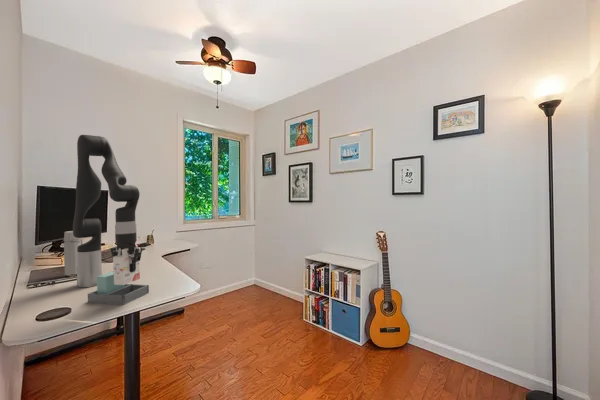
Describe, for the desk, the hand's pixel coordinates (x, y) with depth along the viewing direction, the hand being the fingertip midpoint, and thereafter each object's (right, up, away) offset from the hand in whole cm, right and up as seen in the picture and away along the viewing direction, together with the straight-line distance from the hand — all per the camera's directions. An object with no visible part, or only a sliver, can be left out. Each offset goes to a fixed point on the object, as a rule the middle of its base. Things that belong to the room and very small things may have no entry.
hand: (127, 271), depth 110 cm
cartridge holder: (-4, -12, +1) cm, 13 cm away
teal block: (-8, -11, +2) cm, 14 cm away
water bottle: (-54, -12, +36) cm, 66 cm away
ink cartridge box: (0, -5, 0) cm, 5 cm away
